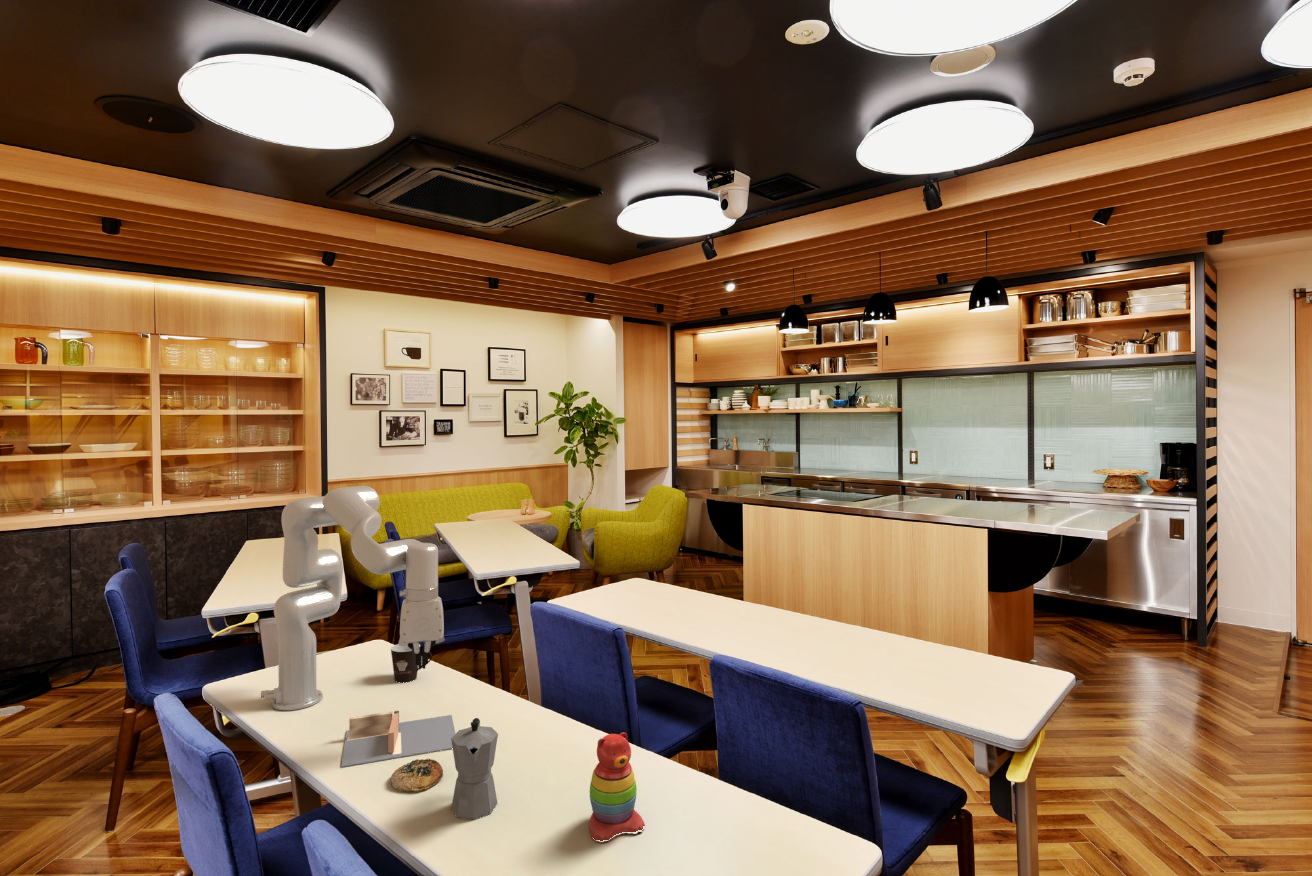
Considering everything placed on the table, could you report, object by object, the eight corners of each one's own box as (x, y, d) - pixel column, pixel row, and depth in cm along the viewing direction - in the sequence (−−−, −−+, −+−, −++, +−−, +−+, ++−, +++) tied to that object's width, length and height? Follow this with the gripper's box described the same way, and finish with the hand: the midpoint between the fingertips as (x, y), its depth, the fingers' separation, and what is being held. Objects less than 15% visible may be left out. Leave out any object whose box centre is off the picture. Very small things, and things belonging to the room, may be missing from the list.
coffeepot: (497, 823, 132) (497, 734, 132) (448, 829, 130) (448, 738, 130) (498, 782, 147) (498, 702, 147) (454, 787, 145) (454, 705, 145)
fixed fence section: (349, 739, 166) (349, 719, 165) (349, 737, 167) (349, 717, 167) (399, 732, 170) (399, 712, 170) (399, 730, 171) (399, 710, 171)
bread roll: (444, 764, 155) (443, 744, 154) (442, 796, 144) (441, 775, 143) (393, 772, 152) (392, 752, 151) (387, 805, 141) (386, 784, 141)
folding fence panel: (393, 732, 169) (393, 713, 169) (398, 731, 169) (398, 713, 169) (388, 753, 159) (388, 733, 158) (393, 752, 159) (393, 732, 159)
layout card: (341, 767, 153) (341, 766, 153) (346, 731, 170) (346, 730, 170) (458, 748, 162) (458, 746, 162) (451, 716, 180) (451, 714, 180)
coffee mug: (384, 681, 203) (384, 649, 203) (404, 672, 211) (404, 641, 211) (414, 687, 199) (414, 654, 199) (434, 677, 207) (434, 645, 207)
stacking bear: (595, 845, 125) (596, 753, 125) (580, 816, 135) (580, 730, 134) (648, 832, 130) (648, 742, 129) (629, 804, 139) (630, 721, 139)
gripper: (389, 600, 158) (389, 676, 158) (454, 595, 163) (454, 668, 164) (389, 592, 165) (389, 665, 165) (452, 587, 170) (451, 658, 171)
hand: (421, 667), depth 164 cm, fingers closed
